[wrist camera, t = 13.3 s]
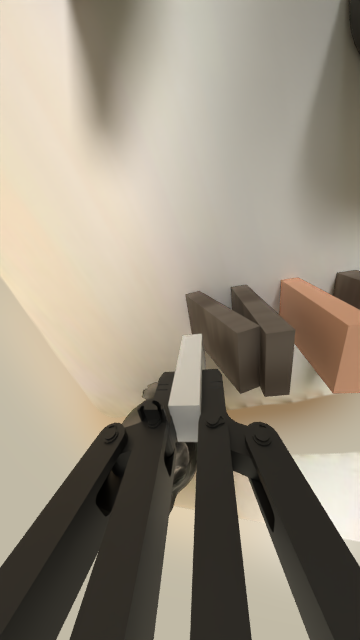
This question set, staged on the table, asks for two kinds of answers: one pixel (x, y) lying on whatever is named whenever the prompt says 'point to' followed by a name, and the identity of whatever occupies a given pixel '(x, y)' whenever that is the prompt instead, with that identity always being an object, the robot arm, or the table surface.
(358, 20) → the mug
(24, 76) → the table surface
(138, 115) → the table surface
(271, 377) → the domino
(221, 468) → the robot arm
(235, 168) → the table surface
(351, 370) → the domino
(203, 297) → the domino
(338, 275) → the domino
